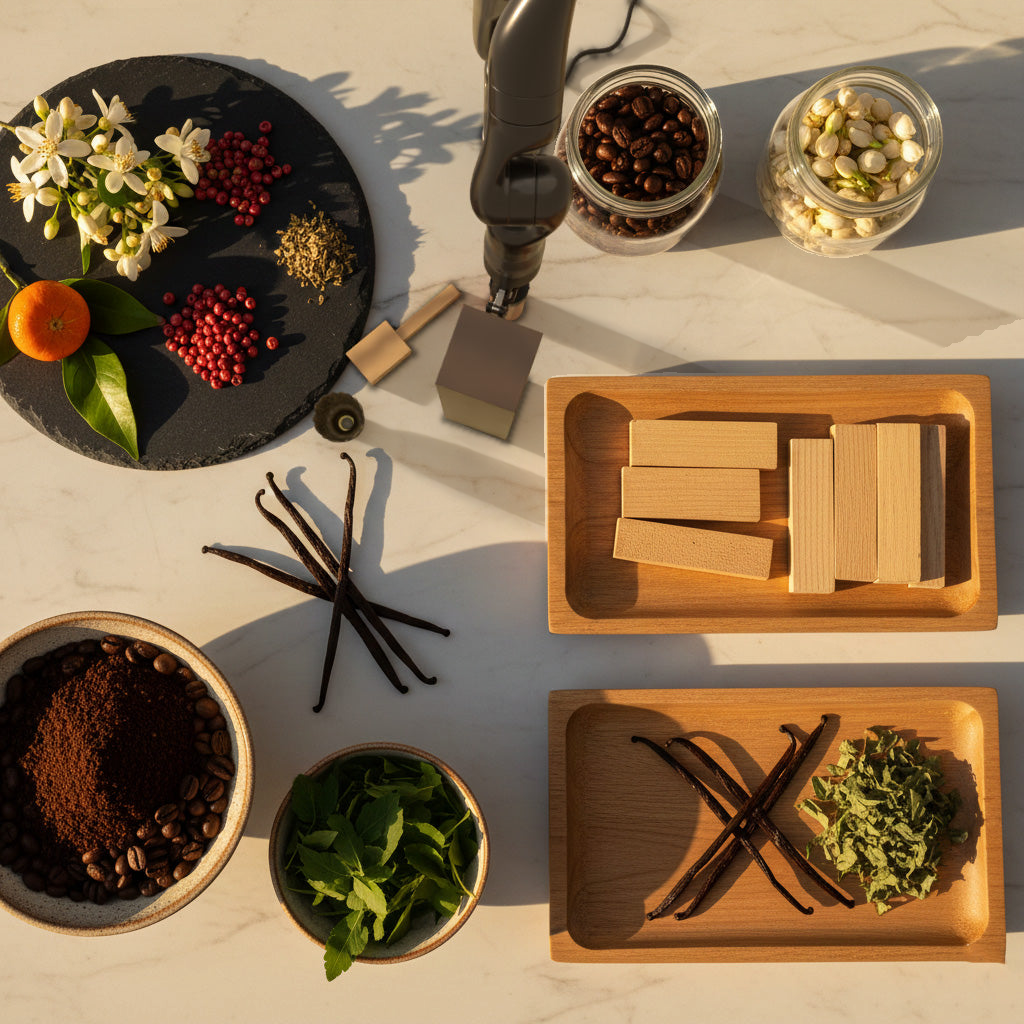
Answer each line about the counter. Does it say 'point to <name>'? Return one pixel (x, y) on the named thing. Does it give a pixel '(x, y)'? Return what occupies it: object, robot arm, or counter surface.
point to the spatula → (395, 339)
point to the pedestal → (486, 370)
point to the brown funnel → (338, 417)
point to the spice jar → (514, 311)
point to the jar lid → (520, 294)
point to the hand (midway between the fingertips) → (508, 287)
